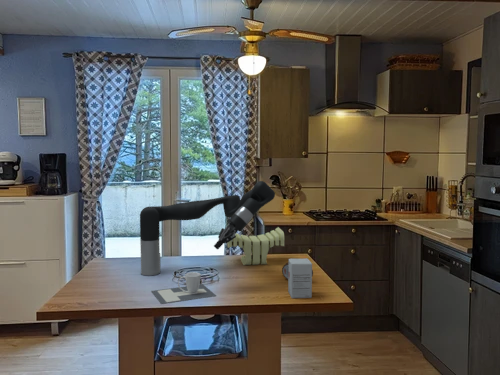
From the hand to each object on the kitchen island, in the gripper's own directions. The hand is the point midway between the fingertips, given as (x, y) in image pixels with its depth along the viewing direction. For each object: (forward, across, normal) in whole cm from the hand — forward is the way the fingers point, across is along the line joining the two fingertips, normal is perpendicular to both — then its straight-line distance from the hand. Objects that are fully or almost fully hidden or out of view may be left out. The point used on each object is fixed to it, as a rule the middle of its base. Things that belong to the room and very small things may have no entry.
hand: (215, 247), depth 206 cm
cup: (+22, 0, -4) cm, 22 cm away
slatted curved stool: (-12, +35, -39) cm, 53 cm away
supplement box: (-8, -22, -35) cm, 42 cm away
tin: (-15, -3, -42) cm, 44 cm away
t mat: (+24, 0, -2) cm, 24 cm away
